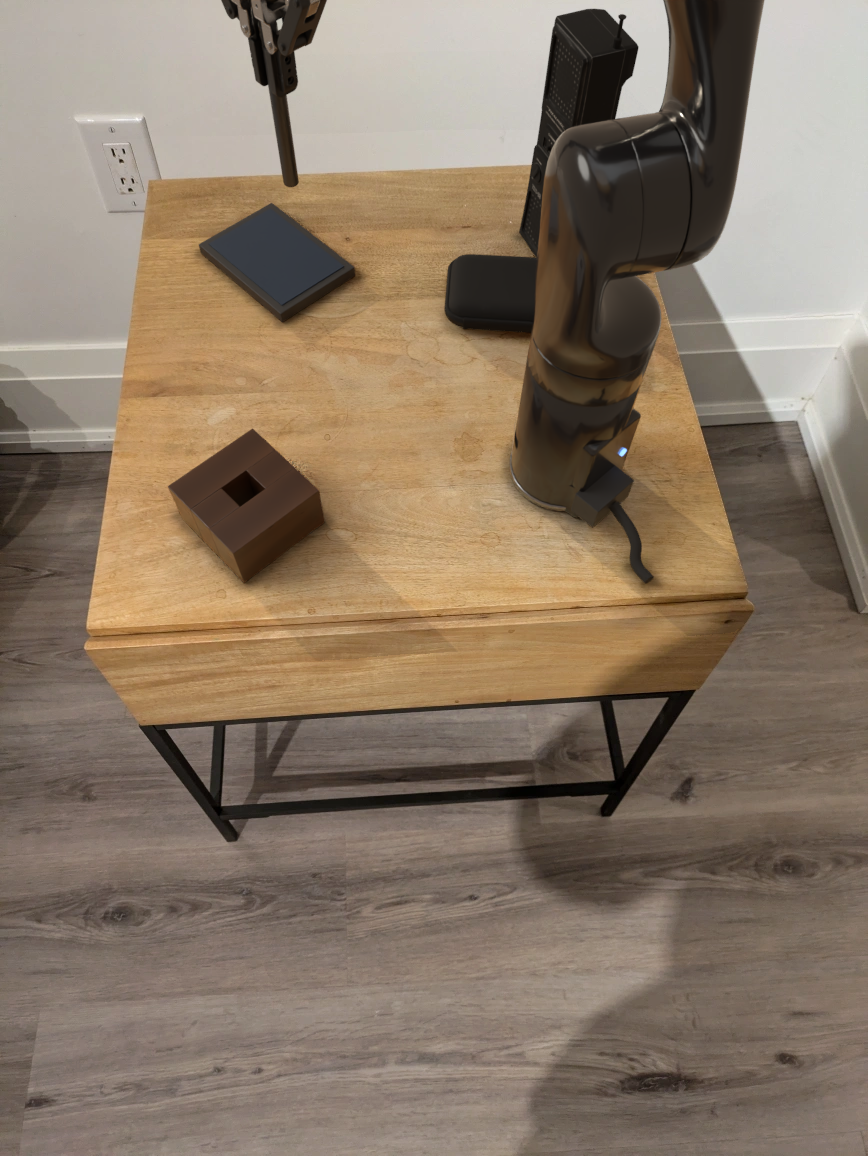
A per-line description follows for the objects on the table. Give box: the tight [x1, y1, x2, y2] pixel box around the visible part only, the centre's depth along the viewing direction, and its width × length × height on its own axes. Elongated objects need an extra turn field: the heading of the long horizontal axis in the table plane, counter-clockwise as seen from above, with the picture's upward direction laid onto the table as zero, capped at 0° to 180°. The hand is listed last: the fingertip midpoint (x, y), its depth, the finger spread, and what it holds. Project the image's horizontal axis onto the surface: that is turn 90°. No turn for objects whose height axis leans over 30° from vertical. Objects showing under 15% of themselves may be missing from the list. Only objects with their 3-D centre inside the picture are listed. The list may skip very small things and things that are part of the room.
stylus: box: [258, 21, 300, 188], centre depth 72 cm, size 2×2×14 cm
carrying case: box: [443, 253, 537, 334], centre depth 87 cm, size 11×3×15 cm
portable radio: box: [518, 8, 639, 258], centre depth 82 cm, size 8×6×25 cm
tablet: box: [198, 202, 356, 323], centre depth 90 cm, size 14×10×1 cm
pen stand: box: [167, 428, 326, 584], centre depth 73 cm, size 9×9×5 cm
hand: (277, 86), depth 70 cm, fingers closed on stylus, 1 cm apart
